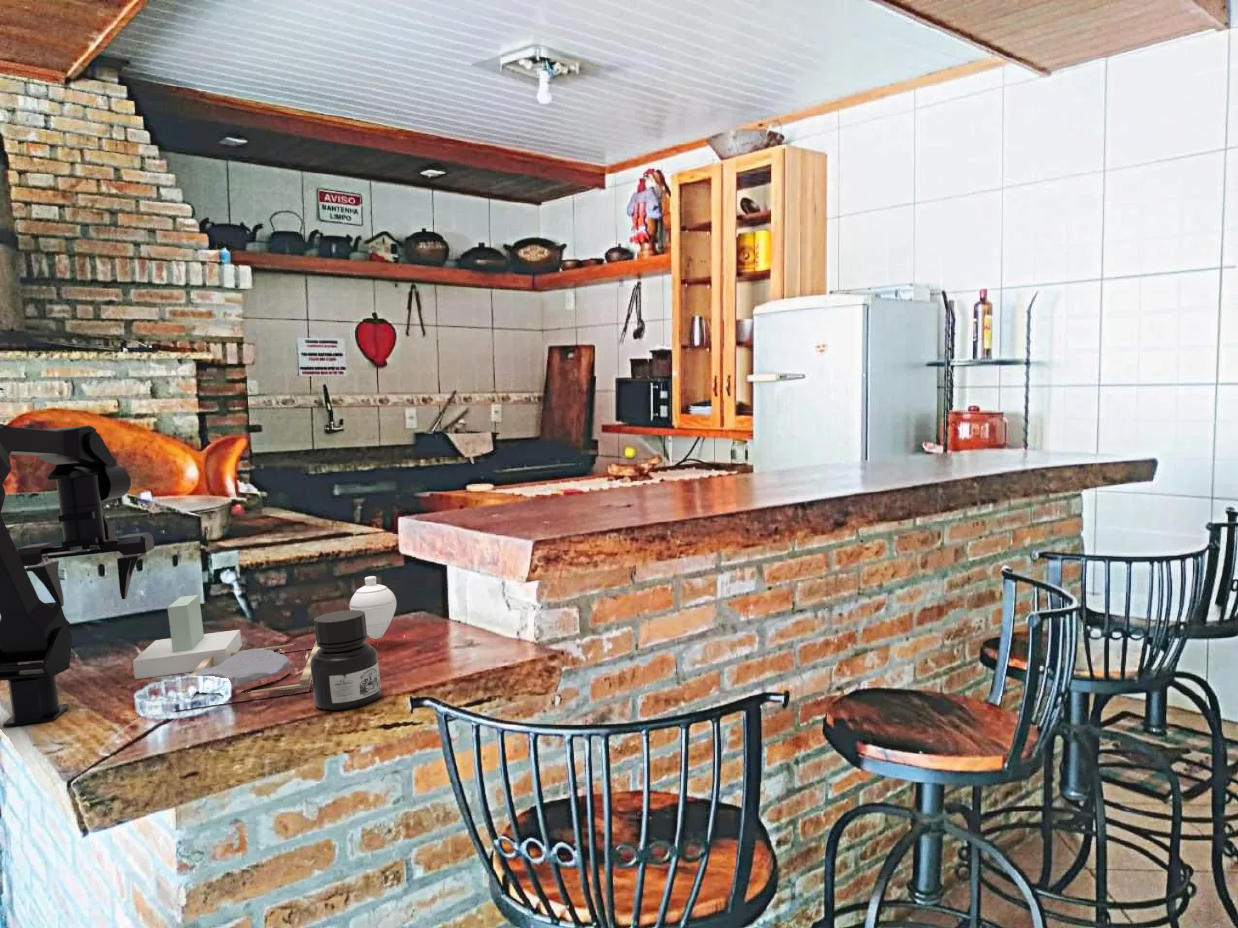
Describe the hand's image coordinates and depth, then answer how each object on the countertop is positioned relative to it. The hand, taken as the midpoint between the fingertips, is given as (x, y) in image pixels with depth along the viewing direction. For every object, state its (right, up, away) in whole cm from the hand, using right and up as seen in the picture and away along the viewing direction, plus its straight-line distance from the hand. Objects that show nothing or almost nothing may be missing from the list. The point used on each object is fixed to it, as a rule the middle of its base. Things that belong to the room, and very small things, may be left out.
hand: (93, 602), depth 150 cm
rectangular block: (+11, -8, +9) cm, 17 cm away
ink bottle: (+47, -11, -20) cm, 52 cm away
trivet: (+11, -11, +9) cm, 19 cm away
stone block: (+27, -12, -6) cm, 30 cm away
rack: (+27, -11, -3) cm, 30 cm away
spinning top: (+43, -9, +9) cm, 45 cm away
